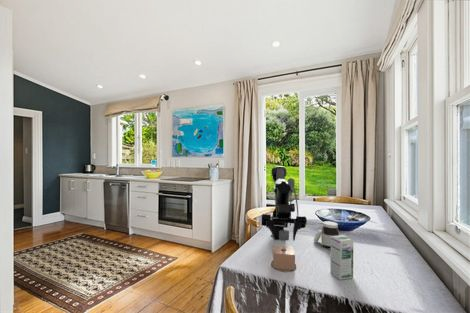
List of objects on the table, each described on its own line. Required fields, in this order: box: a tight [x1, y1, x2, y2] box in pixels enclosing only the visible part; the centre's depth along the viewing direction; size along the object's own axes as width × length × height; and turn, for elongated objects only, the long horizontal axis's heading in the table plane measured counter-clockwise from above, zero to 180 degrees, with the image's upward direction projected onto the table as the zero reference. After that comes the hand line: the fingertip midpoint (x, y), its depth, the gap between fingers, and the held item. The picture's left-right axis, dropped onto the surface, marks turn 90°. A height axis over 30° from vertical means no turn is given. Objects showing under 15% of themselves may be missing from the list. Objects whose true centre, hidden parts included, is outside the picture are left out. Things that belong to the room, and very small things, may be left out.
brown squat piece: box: [270, 245, 297, 273], centre depth 94 cm, size 10×10×6 cm
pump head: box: [279, 229, 290, 251], centre depth 93 cm, size 6×4×8 cm, turn 173°
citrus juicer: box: [286, 177, 300, 226], centre depth 156 cm, size 11×10×30 cm
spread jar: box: [313, 220, 340, 250], centre depth 116 cm, size 12×11×12 cm
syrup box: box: [329, 234, 354, 281], centre depth 87 cm, size 6×6×14 cm
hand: (284, 239), depth 92 cm, fingers open, 7 cm apart
